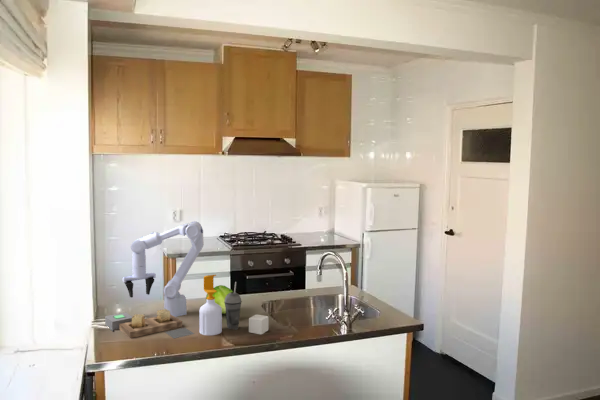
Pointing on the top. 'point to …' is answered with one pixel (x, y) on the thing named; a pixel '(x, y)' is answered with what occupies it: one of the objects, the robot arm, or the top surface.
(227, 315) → the beverage cup
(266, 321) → the white cube
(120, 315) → the button
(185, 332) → the mat
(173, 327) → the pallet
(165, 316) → the block
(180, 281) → the robot arm
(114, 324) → the button housing
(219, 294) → the lettuce
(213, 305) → the soap bottle
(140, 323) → the block
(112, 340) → the top surface
